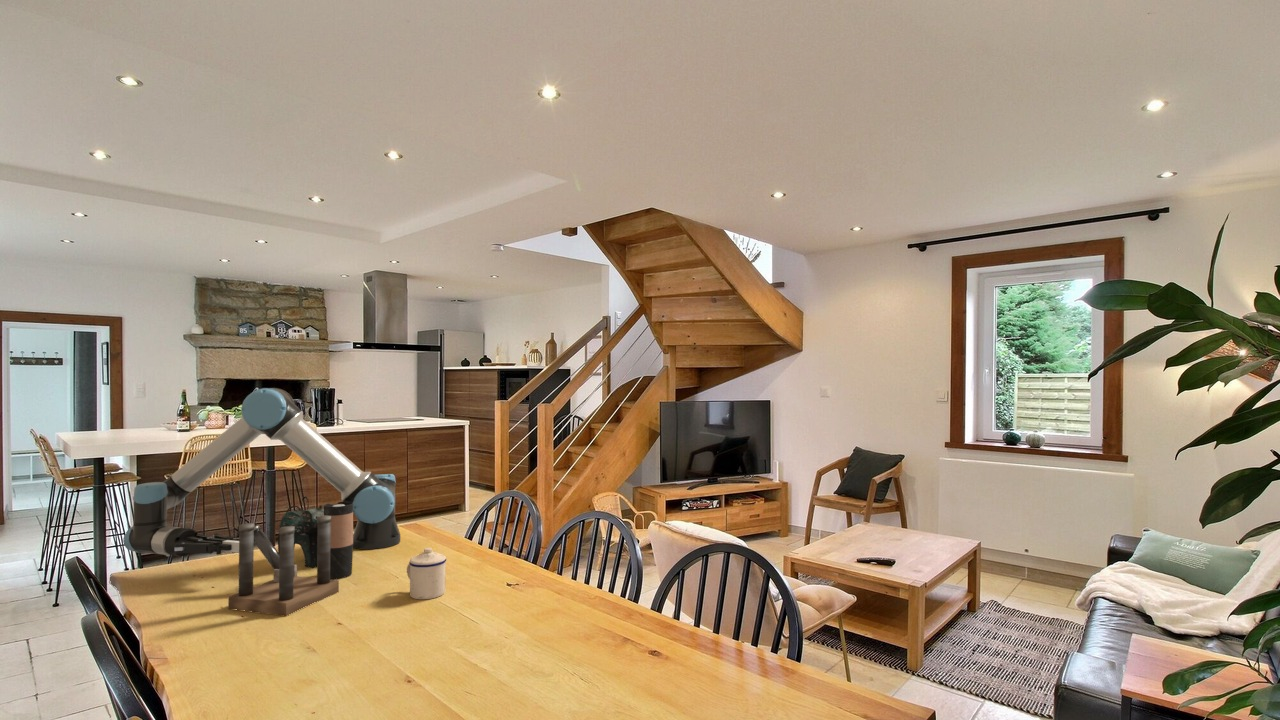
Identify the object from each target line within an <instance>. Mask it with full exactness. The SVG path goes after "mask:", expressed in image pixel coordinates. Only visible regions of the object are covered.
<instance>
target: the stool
mask: <svg viewBox="0 0 1280 720" xmlns="http://www.w3.org/2000/svg"><path fill="white" fill-rule="evenodd" d="M317 523H318V535H317V567H316V568H317V569H316V577H309V576H298V564H294V563H295V561H294V560H295V559H294V558H295V557H294V556H295V547H294V532H295V527H294V526H286V527H281V528H278V534H280V551H279V569H275V570H274V569H273V578H272V580H269V581H266V582H263V583H261V584H258V585H256V586H254V554H255V553H254V551H255V549H254V547H255V543H254V525H255V523H252V522H251V523H250V522H249V523H241V524H239V525H238V531H239V534H238V536H239V537H238V538H239V539H238V541H239V553H238V592H237V593H234V594H231V595H229V596H228V598H227V599H228V601H227V602H228V603H227V604H228V610H230V609H237V610H236V611H239V610H245V611H244V612H247V611H252V612H251V613H255V612H260V613H259V614H264V613H267V614H266V615H272V614H274V616H281V615H284V616H283V617H288V616H289V614H290V615H292V614H294V613H296V612H298V611H297V610H299V609H301V608H303V607H305V606H307V607H309V606H311V605H310V604H312V603H314V602H316V603H317V601H318V602H320V601H322V600H324V598H325V599H327V598H329V597H331V596H333V595H335V594H337V592H338V593H339V592H340V591H339V590H340V589H339V588H340V587H339V586H340V585H339V584H340V583H339V580H340V579H334V580H330V534H331V516H319V517H317ZM330 595H331V596H330ZM328 596H329V597H328ZM326 597H327V598H326ZM319 600H320V601H319ZM314 604H315V603H314ZM308 605H309V606H308ZM312 605H313V604H312ZM305 608H306V607H305ZM303 609H304V608H303ZM301 610H302V609H301ZM295 611H296V612H295ZM299 611H300V610H299ZM293 612H294V613H293ZM291 613H292V614H291ZM275 614H276V615H275ZM287 615H288V616H287Z"/></svg>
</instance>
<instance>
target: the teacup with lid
mask: <svg viewBox="0 0 1280 720" xmlns="http://www.w3.org/2000/svg"><path fill="white" fill-rule="evenodd" d="M446 562H447V557H446V556H445V555H444V554H442V553H438V552H436V551H433V549H432V547H426V548H424V549H423V552H421V553H419V554H418V555H417V554H416V555H414V556H413V557H411V558H410V559H409V561H408V564H407V565H406V574H407V578H408V579H409V596H410V597H411V598H413V599H414V600H415V599H416V600H431V599H436V598H439V597H441V596H443V595H444V594H445V593H446Z"/></svg>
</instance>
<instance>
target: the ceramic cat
mask: <svg viewBox="0 0 1280 720" xmlns="http://www.w3.org/2000/svg"><path fill="white" fill-rule="evenodd" d="M305 499H306V502H307V508H306V509H302V508H300V507H299V506H298V505H292V506H290V507H288V508H287V510H286V512H285V514H283V516H282V517H281V519H280V523H279V528H281V527H286V526H294V527H295V532H294V548H295V547H296V545H298V546H300V548H301V550H302V552H303V555H304V567H305V568H310V569H315V568H317V535H318V523H317V517H319V516H324V508H323V505H322V504H320V505H319V506H317V508H316V506H315V505H312V507H311V508H310V506H309V498H308V497H307V496H303V497H302V498H301V501H302V502H303V501H304V500H305ZM294 508H297V510H291V509H294ZM309 508H310V509H309ZM290 510H291V511H290ZM279 528H278V529H279ZM277 551H278V552H279V551H280V534H279V533H278V534H277Z"/></svg>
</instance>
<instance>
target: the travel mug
mask: <svg viewBox="0 0 1280 720" xmlns="http://www.w3.org/2000/svg"><path fill="white" fill-rule="evenodd" d="M323 510H324V516H331V534H330V580H341V579H345V578H348V577H350V576H351V575H353V574H352V573H353V558H354V557H353V555H354V554H353V553H354V552H353V551H354V547H353V534H354V512H353V503H352V502H343V501H338V502H337V503H335V504H334V503H333V504H331V503H330V502H328V503H325V504H324V505H323Z"/></svg>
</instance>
